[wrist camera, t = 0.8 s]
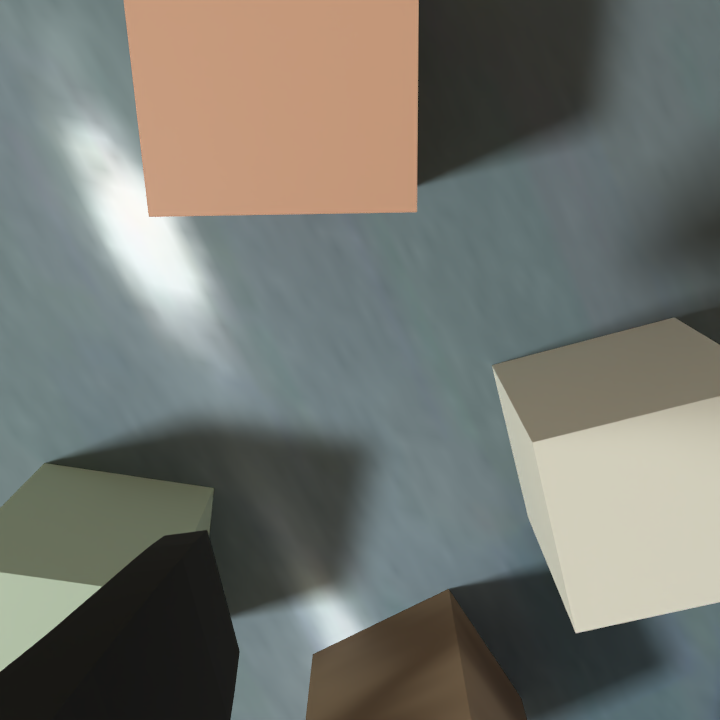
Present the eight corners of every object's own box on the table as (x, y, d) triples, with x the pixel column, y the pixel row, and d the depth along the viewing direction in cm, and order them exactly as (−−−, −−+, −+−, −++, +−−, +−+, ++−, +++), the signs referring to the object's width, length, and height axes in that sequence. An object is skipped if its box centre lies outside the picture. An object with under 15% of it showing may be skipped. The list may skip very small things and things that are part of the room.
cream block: (673, 316, 18) (779, 381, 13) (696, 476, 20) (799, 584, 15) (491, 364, 19) (532, 442, 14) (527, 516, 20) (575, 633, 15)
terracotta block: (404, -31, 16) (419, -103, 11) (403, 190, 17) (416, 212, 12) (189, -26, 16) (113, -95, 11) (209, 193, 17) (149, 216, 13)
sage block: (214, 486, 20) (166, 595, 15) (200, 623, 22) (153, 760, 17) (45, 461, 20) (-56, 564, 15) (44, 601, 21) (-48, 734, 17)
